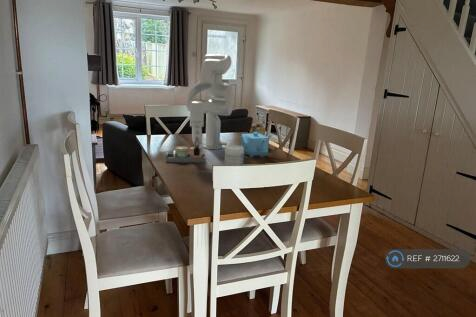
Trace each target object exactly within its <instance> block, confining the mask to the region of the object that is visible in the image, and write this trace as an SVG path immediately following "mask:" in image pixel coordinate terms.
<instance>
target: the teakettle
mask: <svg viewBox="0 0 476 317" xmlns="http://www.w3.org/2000/svg"><path fill="white" fill-rule="evenodd" d="M272 136H273V134H269V135H267V136H266V135H262V134H259V133H258V132H253V134H249V133H242V134H241V135H237V137H238V138H239V139H240V143H241V146H242V147H243V148H244V155H246V156H249V157H248V158H250V159H253V158H254V157H256V156H258V157H260V158H265V156H269V147H270V146H269V145H270V144H269V143H270V138H271V137H272Z"/></svg>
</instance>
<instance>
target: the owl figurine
mask: <svg viewBox="0 0 476 317" xmlns="http://www.w3.org/2000/svg"><path fill="white" fill-rule="evenodd" d="M253 132H258V133H259V134H262V135H264V136H266V128H265V127H264V125H263V123H262V122H261V121H258V122H256V123H253V124H252V125H251V128H250V130H249V133H248V134H253Z"/></svg>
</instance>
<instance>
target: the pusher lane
mask: <svg viewBox="0 0 476 317" xmlns="http://www.w3.org/2000/svg"><path fill="white" fill-rule="evenodd" d="M165 163H206V155H205V153H202V158H190V153H188V158H180V157H174V152H173V153H169V151H166V154H165Z"/></svg>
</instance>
